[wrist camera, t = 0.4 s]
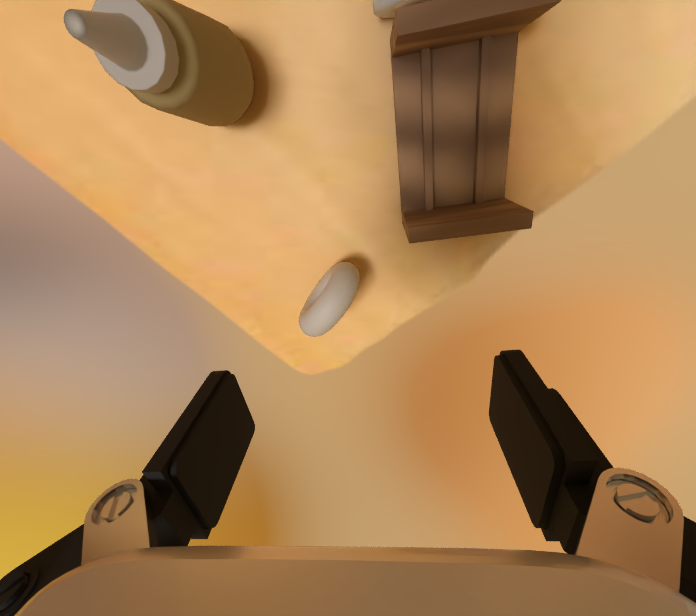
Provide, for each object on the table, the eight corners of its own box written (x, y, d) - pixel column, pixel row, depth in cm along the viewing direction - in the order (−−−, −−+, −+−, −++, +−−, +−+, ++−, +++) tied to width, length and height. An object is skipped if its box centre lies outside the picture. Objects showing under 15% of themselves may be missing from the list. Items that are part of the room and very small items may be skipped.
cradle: (390, 40, 29) (395, 8, 22) (515, 13, 27) (565, -30, 20) (402, 223, 37) (409, 243, 30) (499, 210, 35) (531, 228, 28)
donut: (322, 313, 43) (310, 358, 35) (302, 300, 43) (284, 342, 34) (367, 261, 39) (365, 296, 30) (345, 244, 38) (337, 276, 30)
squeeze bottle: (269, 40, 29) (148, -72, 14) (262, 136, 33) (163, 135, 17) (184, 19, 29) (-41, -122, 13) (188, 118, 33) (18, 100, 17)
